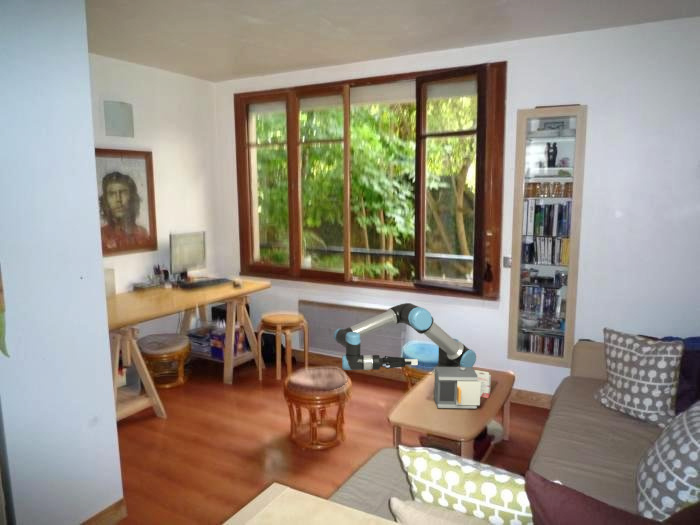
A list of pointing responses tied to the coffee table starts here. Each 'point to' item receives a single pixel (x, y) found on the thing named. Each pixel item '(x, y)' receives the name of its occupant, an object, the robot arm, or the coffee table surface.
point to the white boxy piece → (468, 392)
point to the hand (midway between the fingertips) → (417, 362)
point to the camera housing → (451, 385)
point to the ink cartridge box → (484, 383)
